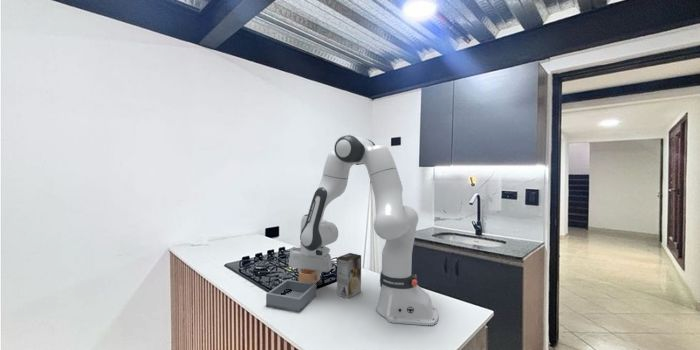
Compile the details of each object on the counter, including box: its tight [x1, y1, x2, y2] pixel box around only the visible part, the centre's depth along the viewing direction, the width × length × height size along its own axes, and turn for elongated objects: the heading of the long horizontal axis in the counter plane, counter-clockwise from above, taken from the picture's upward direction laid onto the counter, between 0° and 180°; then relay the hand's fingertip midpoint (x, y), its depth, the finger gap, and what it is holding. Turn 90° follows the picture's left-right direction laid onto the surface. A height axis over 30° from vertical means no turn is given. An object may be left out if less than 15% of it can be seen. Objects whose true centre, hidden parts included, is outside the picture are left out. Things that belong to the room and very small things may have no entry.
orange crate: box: [298, 269, 321, 284], centre depth 129 cm, size 6×10×6 cm, turn 162°
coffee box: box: [336, 252, 362, 299], centre depth 121 cm, size 9×6×16 cm
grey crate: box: [265, 279, 318, 314], centre depth 113 cm, size 14×15×5 cm
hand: (309, 278), depth 129 cm, fingers closed on orange crate, 6 cm apart
